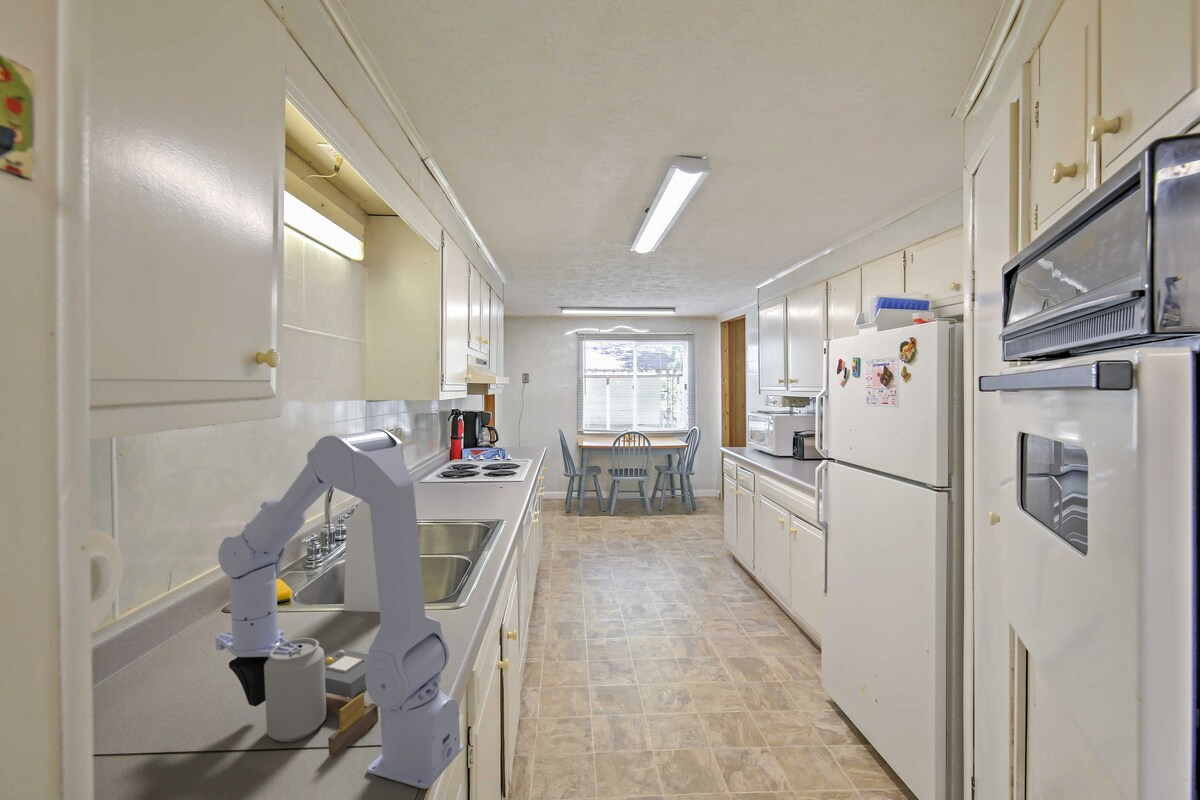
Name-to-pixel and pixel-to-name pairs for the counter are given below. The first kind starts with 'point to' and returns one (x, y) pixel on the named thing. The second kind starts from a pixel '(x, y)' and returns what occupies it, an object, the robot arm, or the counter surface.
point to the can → (295, 690)
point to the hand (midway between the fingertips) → (258, 701)
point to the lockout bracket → (349, 720)
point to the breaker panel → (346, 675)
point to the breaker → (345, 664)
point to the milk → (360, 563)
